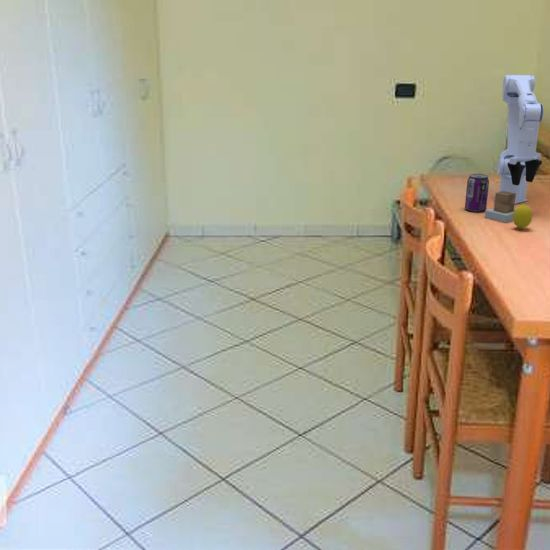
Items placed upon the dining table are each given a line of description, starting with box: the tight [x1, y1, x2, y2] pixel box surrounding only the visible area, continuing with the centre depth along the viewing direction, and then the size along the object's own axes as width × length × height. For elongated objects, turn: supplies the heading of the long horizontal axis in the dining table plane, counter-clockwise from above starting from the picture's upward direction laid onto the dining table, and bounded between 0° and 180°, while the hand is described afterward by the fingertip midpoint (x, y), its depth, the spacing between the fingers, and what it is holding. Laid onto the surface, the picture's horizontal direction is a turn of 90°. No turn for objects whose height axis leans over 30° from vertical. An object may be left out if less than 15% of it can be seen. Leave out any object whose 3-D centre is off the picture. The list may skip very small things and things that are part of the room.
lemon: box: [512, 203, 533, 230], centre depth 209 cm, size 6×6×8 cm
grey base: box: [484, 207, 515, 224], centre depth 221 cm, size 8×8×2 cm
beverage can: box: [464, 173, 490, 213], centre depth 230 cm, size 7×7×12 cm
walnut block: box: [493, 191, 516, 214], centre depth 220 cm, size 4×4×6 cm
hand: (522, 183), depth 223 cm, fingers open, 7 cm apart
